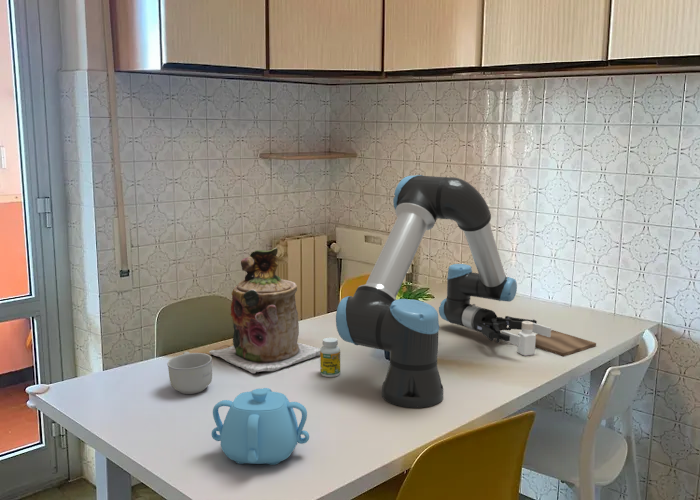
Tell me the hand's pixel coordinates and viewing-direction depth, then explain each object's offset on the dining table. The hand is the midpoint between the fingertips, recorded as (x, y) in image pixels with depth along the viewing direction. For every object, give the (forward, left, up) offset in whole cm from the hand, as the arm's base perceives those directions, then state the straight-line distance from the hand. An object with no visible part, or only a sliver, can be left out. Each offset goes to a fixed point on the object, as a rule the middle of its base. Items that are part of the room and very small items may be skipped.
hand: (535, 336), depth 197 cm
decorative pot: (-93, -5, -6) cm, 93 cm away
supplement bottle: (-56, +23, -6) cm, 61 cm away
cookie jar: (-63, +46, -6) cm, 78 cm away
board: (+15, +3, -6) cm, 16 cm away
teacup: (-90, +36, -6) cm, 97 cm away
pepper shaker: (0, +3, -6) cm, 7 cm away
